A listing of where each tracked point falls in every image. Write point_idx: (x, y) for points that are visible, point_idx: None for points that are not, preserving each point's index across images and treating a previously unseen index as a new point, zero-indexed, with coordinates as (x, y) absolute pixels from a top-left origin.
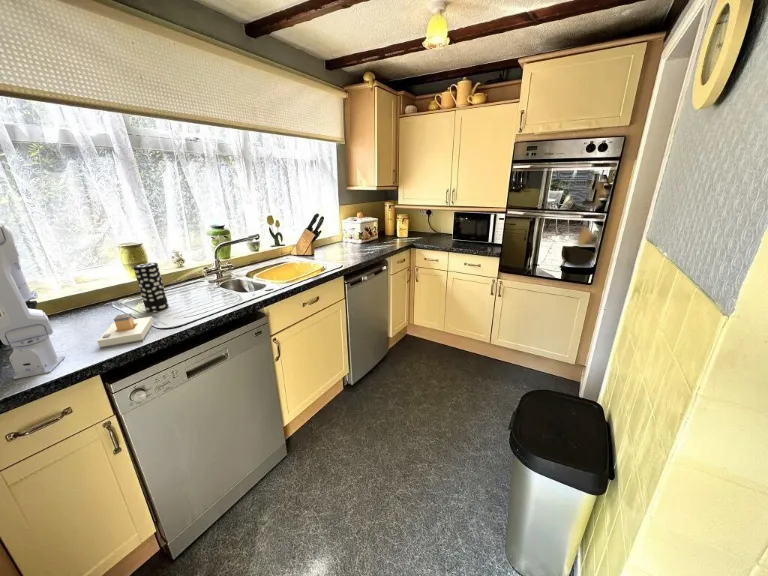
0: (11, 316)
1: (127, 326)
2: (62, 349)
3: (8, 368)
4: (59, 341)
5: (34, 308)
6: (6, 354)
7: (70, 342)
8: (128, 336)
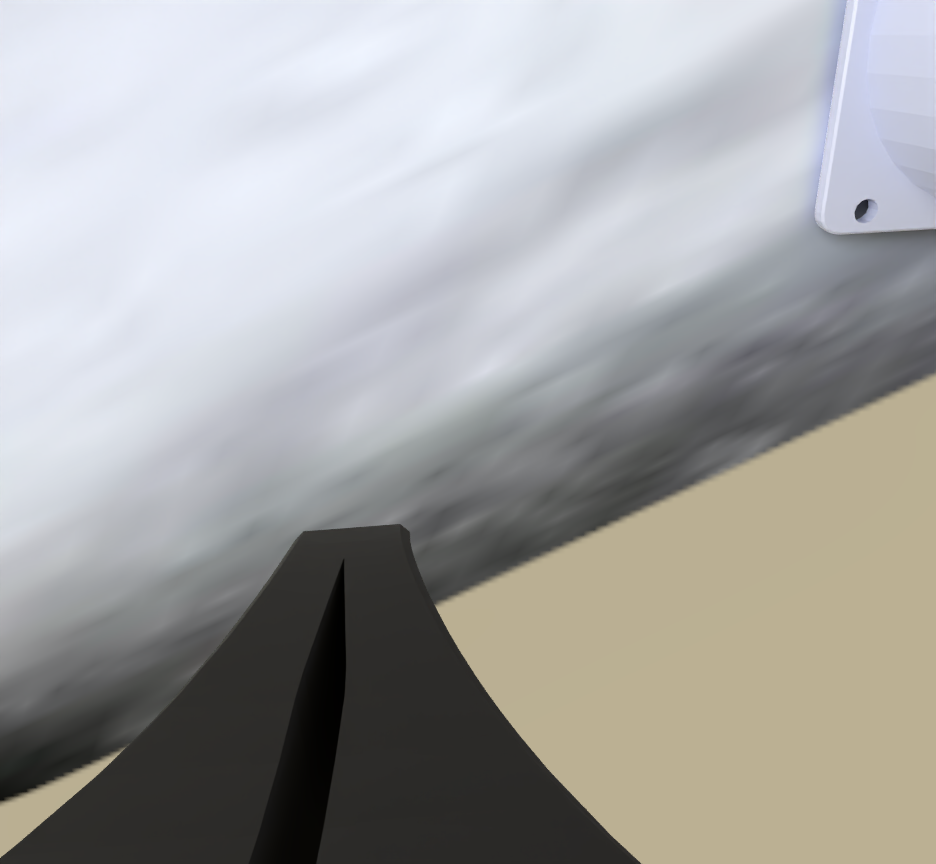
0: None
1: None
2: (484, 27)
3: (794, 426)
4: (121, 239)
5: (118, 849)
6: None
7: (217, 28)
8: None
